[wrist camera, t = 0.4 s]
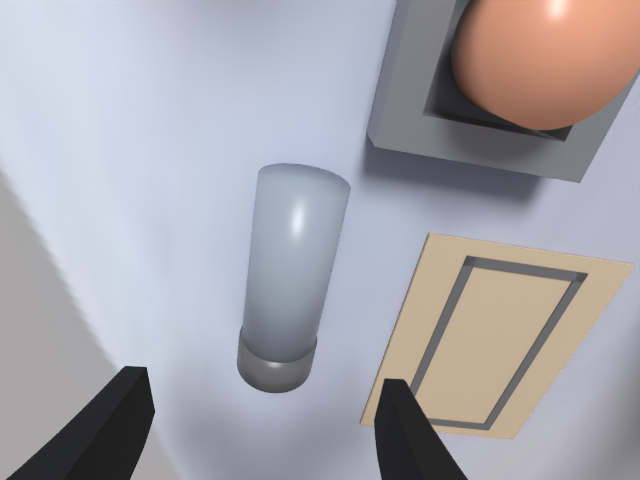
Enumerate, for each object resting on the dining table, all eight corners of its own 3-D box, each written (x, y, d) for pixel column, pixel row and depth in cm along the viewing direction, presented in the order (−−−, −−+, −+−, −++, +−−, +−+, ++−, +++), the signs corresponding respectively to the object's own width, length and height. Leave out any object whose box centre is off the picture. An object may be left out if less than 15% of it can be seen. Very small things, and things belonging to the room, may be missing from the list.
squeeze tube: (348, 172, 18) (358, 207, 14) (311, 339, 23) (310, 396, 19) (261, 157, 17) (248, 190, 14) (243, 331, 23) (230, 388, 19)
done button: (617, -23, 13) (697, -39, 10) (549, 123, 15) (599, 141, 12) (481, -56, 12) (528, -81, 10) (433, 101, 15) (460, 115, 12)
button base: (661, -70, 14) (728, -90, 11) (547, 165, 18) (579, 183, 16) (428, -130, 13) (452, -165, 10) (366, 132, 17) (374, 146, 15)
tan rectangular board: (632, 263, 21) (636, 266, 20) (511, 437, 28) (513, 440, 28) (428, 232, 19) (430, 235, 19) (359, 422, 27) (360, 426, 27)
